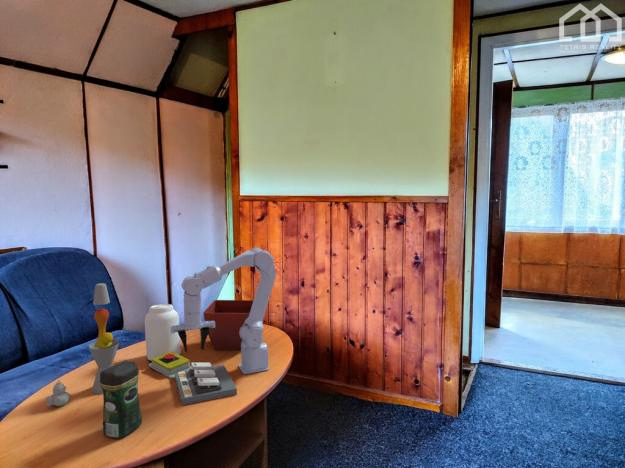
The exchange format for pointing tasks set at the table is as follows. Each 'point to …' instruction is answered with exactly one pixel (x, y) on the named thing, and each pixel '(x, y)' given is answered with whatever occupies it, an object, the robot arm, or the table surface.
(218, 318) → the plant pot
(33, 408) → the table surface
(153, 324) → the white jar
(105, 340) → the lava lamp
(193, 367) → the rocker
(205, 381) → the rocker
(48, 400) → the rubber duck
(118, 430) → the coffee jar
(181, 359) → the emergency button
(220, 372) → the panel
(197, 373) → the rocker
